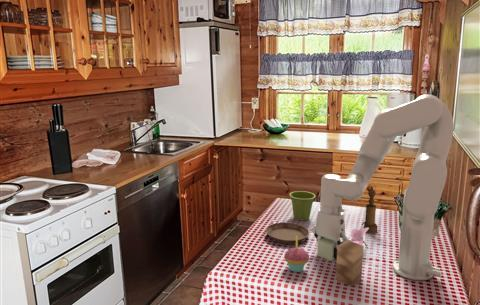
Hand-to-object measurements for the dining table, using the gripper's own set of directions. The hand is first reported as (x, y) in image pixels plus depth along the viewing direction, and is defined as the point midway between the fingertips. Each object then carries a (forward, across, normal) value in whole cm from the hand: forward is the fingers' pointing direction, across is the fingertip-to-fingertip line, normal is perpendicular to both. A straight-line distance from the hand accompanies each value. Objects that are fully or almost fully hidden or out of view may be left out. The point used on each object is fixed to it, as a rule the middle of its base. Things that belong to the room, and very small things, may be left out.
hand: (328, 253), depth 145 cm
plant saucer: (+1, +21, -2) cm, 21 cm away
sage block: (+1, 0, 0) cm, 1 cm away
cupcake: (+1, +2, +16) cm, 17 cm away
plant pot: (+1, +29, -23) cm, 37 cm away
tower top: (-5, -14, +10) cm, 18 cm away
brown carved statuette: (+1, 0, -32) cm, 32 cm away
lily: (+1, -5, -13) cm, 14 cm away
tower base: (+1, -14, +10) cm, 17 cm away
